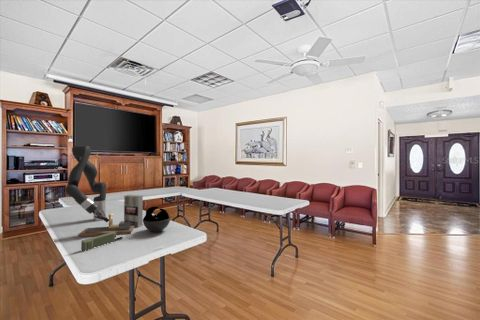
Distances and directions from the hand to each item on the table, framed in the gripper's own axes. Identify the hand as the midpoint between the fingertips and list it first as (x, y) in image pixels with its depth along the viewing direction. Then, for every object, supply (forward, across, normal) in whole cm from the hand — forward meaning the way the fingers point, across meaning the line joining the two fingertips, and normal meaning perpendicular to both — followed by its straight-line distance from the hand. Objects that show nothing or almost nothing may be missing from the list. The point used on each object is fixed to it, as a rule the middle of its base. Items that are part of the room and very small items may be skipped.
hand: (108, 221), depth 172 cm
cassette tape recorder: (+17, +14, -4) cm, 22 cm away
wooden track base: (+6, 0, +6) cm, 8 cm away
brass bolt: (+8, 0, +1) cm, 8 cm away
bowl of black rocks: (+31, -5, -19) cm, 36 cm away
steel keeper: (+13, 0, -4) cm, 13 cm away
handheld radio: (+9, -25, +4) cm, 27 cm away
